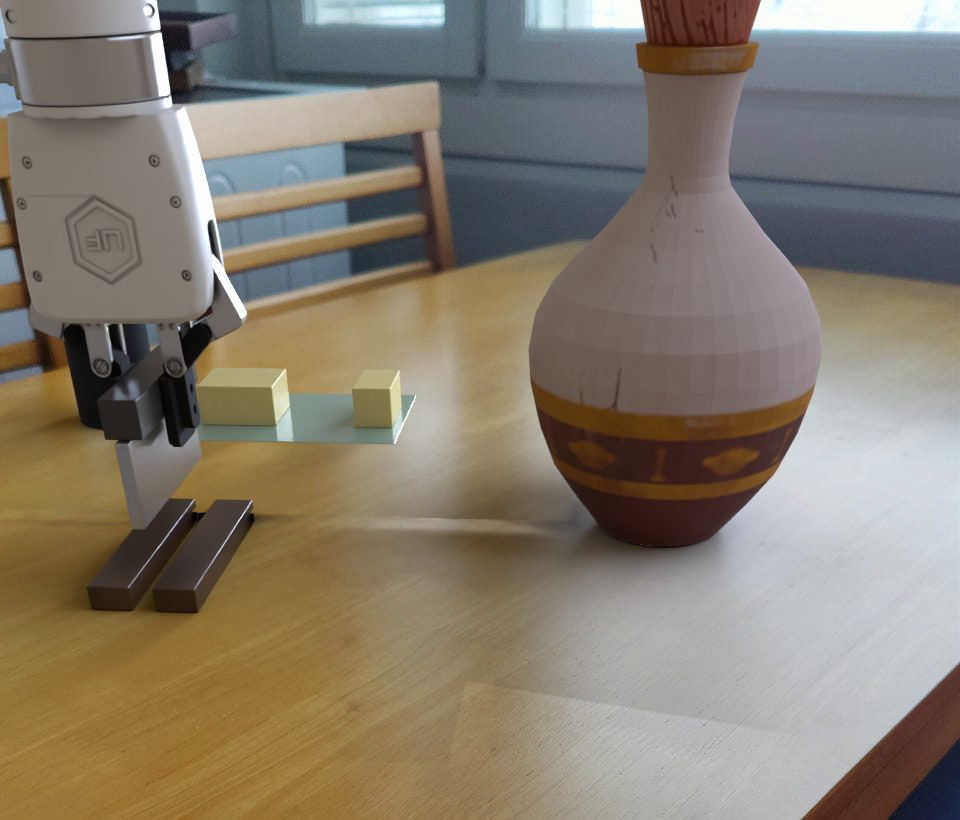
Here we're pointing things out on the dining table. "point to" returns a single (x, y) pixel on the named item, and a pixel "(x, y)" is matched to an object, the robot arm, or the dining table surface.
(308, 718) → the dining table surface
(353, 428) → the butter dish
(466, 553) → the dining table surface
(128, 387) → the black and grey blade
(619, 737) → the dining table surface
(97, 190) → the robot arm
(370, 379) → the butter pat
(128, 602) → the stand
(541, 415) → the ceramic vase
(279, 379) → the butter
